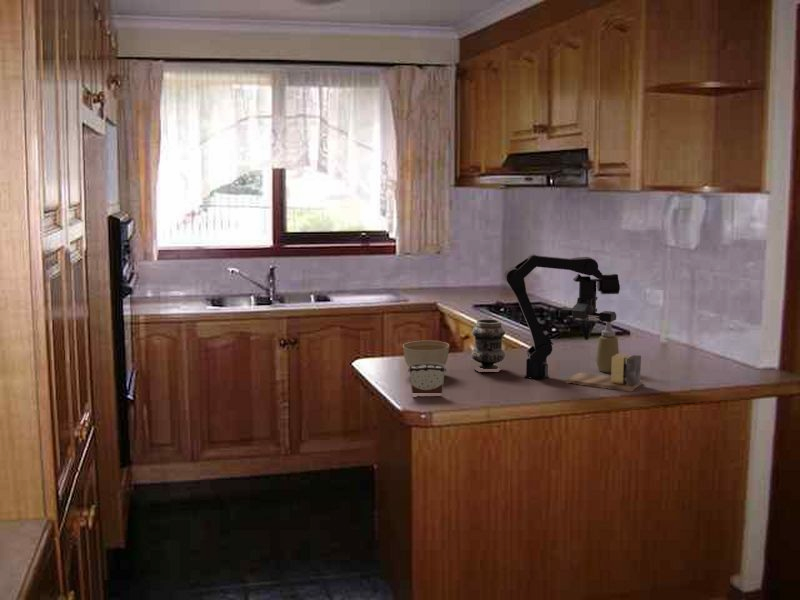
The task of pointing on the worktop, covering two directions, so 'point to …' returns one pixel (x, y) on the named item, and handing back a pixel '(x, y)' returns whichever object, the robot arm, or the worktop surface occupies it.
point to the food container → (427, 377)
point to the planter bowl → (426, 352)
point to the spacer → (618, 368)
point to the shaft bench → (602, 381)
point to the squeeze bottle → (606, 348)
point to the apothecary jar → (488, 343)
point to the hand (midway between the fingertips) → (586, 339)
